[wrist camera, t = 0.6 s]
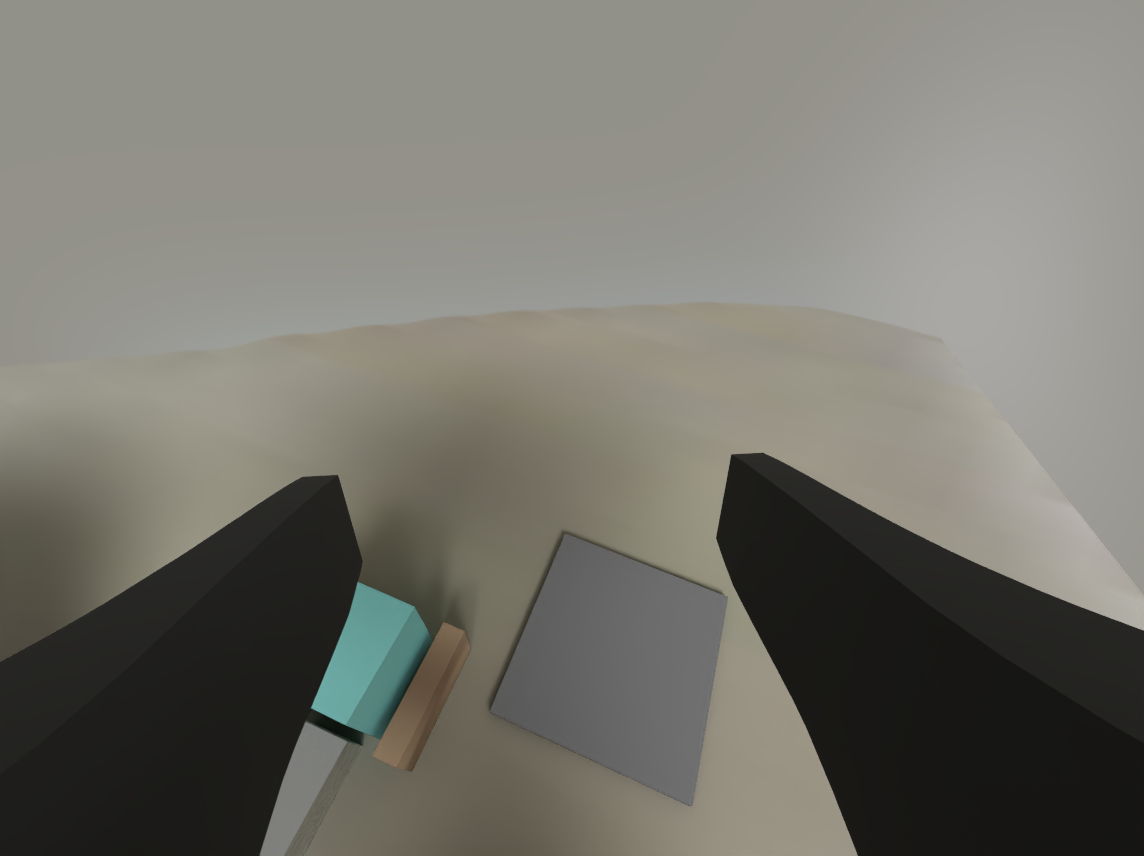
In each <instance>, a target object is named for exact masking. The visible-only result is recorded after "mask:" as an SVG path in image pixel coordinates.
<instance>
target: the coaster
mask: <svg viewBox="0 0 1144 856" xmlns="http://www.w3.org/2000/svg"><path fill="white" fill-rule="evenodd" d="M727 599H728V597H727V596H724V595H722V594H719V593H717V592H714V591H711V590H709V589H706V588H704V587H701V586H699V585H696V584H694V583H691V582H688V581H686V580H683V579H681V578H678V577H676V576H673V575H671V574H668V573H665V572H663V571H660V570H658V569H655V568H653V567H650V566H648V565H645V564H642V563H640V562H637V561H635V560H632V559H630V558H627V557H625V556H622V555H619V554H617V553H614V552H612V551H609V550H607V549H604V548H602V547H599V546H596V545H594V544H591V543H589V542H586V541H584V540H581V539H579V538H576V537H574V536H571V535H568V534H566V533H565V535H564V538H563V540H562V542H561V545H560V547H559V549H558V552H557V554H556V556H555V559H554V561H553V563H552V566H551V568H550V570H549V573H548V575H547V578H546V580H545V582H544V585H543V587H542V589H541V592H540V594H539V596H538V599H537V601H536V603H535V606H534V608H533V610H532V613H531V615H530V617H529V620H528V622H527V624H526V627H525V629H524V632H523V634H522V636H521V639H520V641H519V643H518V646H517V648H516V650H515V653H514V655H513V657H512V660H511V662H510V664H509V667H508V669H507V671H506V674H505V676H504V679H503V681H502V683H501V686H500V688H499V690H498V693H497V695H496V697H495V700H494V702H493V704H492V707H491V709H490V713H492V714H494V715H496V716H498V717H500V718H502V719H505V720H507V721H509V722H511V723H513V724H515V725H517V726H520V727H522V728H524V729H526V730H528V731H530V732H532V733H534V734H537V735H539V736H541V737H543V738H545V739H547V740H549V741H552V742H554V743H556V744H558V745H560V746H562V747H564V748H567V749H569V750H571V751H573V752H575V753H577V754H579V755H581V756H584V757H586V758H588V759H590V760H592V761H594V762H596V763H599V764H601V765H603V766H605V767H607V768H609V769H611V770H614V771H616V772H618V773H620V774H622V775H624V776H626V777H629V778H631V779H633V780H635V781H637V782H639V783H641V784H643V785H646V786H648V787H650V788H652V789H654V790H656V791H658V792H661V793H663V794H665V795H667V796H669V797H671V798H673V799H676V800H678V801H680V802H682V803H684V804H686V805H688V806H692V805H693V799H694V793H695V787H696V781H697V775H698V770H699V764H700V758H701V752H702V746H703V740H704V734H705V728H706V723H707V717H708V711H709V705H710V699H711V693H712V687H713V681H714V676H715V670H716V664H717V658H718V652H719V646H720V640H721V635H722V629H723V623H724V617H725V611H726V605H727Z"/></svg>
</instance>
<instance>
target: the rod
mask: <svg viewBox="0 0 1144 856" xmlns="http://www.w3.org/2000/svg"><path fill="white" fill-rule="evenodd" d="M361 747H362V746H361V745H359V744H357V743H355V742H353V741H351V740H349V739H347V738H344V737H342V736H340V735H338V734H336V733H334V732H332V731H330V730H328V729H326V728H323V727H321V726H319V725H317V724H315V723H313V722H310V721H307V720H306V722H305V724H304V727H303V729H302V731H301V734H300V736H299V739H298V741H297V744H296V746H295V749H294V751H293V754H292V757H291V760H290V762H289V765H288V768H287V770H286V773H285V776H284V779H283V781H282V785H281V788H280V791H279V794H278V797H277V801H276V804H275V807H274V810H273V814H272V817H271V820H270V823H269V827H268V830H267V833H266V836H265V840H264V843H263V846H262V849H261V853H260V856H304V854H305V852H306V850H307V848H308V846H309V845H310V843H311V841H312V839H313V837H314V835H315V833H316V831H317V830H318V828H319V826H320V824H321V822H322V820H323V818H324V817H325V815H326V813H327V811H328V809H329V807H330V805H331V803H332V802H333V800H334V798H335V796H336V794H337V792H338V790H339V789H340V787H341V785H342V783H343V781H344V779H345V777H346V775H347V774H348V772H349V770H350V768H351V766H352V764H353V762H354V761H355V759H356V757H357V755H358V753H359V751H360V749H361Z"/></svg>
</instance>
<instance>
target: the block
mask: <svg viewBox="0 0 1144 856" xmlns="http://www.w3.org/2000/svg"><path fill="white" fill-rule="evenodd" d="M433 641H434V640H433V638H432V637H431V635H430V633H429V631H428V630H427V628H426V626H425V624H424V623H423V621H422V619H421V617H420V615H419V614H418V612H417V610H416V608H415V607H414V606H412V605H409V604H407V603H405V602H403V601H400V600H398V599H396V598H393V597H391V596H389V595H387V594H384V593H382V592H380V591H378V590H375V589H373V588H371V587H369V586H366V585H364V584H362V583H359V582H358V583H357V587H356V591H355V595H354V598H353V602H352V606H351V609H350V613H349V616H348V618H347V621H346V624H345V626H344V629H343V631H342V634H341V636H340V639H339V641H338V644H337V646H336V649H335V651H334V654H333V656H332V659H331V661H330V663H329V666H328V668H327V671H326V673H325V676H324V678H323V680H322V683H321V685H320V688H319V690H318V693H317V695H316V697H315V700H314V702H313V705H312V707H311V708H312V709H314V710H316V711H318V712H320V713H322V714H324V715H326V716H328V717H330V718H332V719H334V720H336V721H338V722H340V723H342V724H344V725H346V726H348V727H351V728H354V729H356V730H359V731H361V732H364V733H366V734H369V735H371V736H374V737H376V738H379V739H381V738H382V736H383V734H384V733H385V731H386V729H387V727H388V725H389V723H390V721H391V720H392V718H393V716H394V714H395V712H396V710H397V708H398V706H399V705H400V703H401V701H402V699H403V697H404V695H405V693H406V691H407V690H408V688H409V686H410V684H411V682H412V680H413V678H414V677H415V675H416V673H417V671H418V669H419V667H420V665H421V663H422V662H423V660H424V658H425V656H426V654H427V652H428V650H429V648H430V647H431V645H432V643H433Z"/></svg>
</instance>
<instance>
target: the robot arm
mask: <svg viewBox="0 0 1144 856" xmlns="http://www.w3.org/2000/svg"><path fill="white" fill-rule="evenodd" d="M716 539H717V542H718V545H719V548H720V551H721V554H722V557H723V559H724V562H725V565H726V568H727V570H728V573H729V576H730V578H731V581H732V583H733V586H734V588H735V590H736V592H737V594H738V596H739V598H740V600H741V602H742V604H743V606H744V607H745V609H746V611H747V613H748V615H749V617H750V619H751V621H752V623H753V625H754V627H755V629H756V631H757V632H758V634H759V636H760V638H761V640H762V642H763V644H764V646H765V648H766V649H767V651H768V653H769V655H770V657H771V659H772V661H773V663H774V665H775V667H776V668H777V670H778V672H779V674H780V676H781V678H782V680H783V682H784V684H785V685H786V687H787V689H788V691H789V693H790V695H791V697H792V699H793V701H794V703H795V705H796V707H797V709H798V711H799V713H800V715H801V717H802V720H803V722H804V724H805V726H806V728H807V730H808V733H809V735H810V737H811V740H812V742H813V745H814V747H815V749H816V752H817V754H818V757H819V759H820V761H821V764H822V766H823V769H824V771H825V774H826V776H827V778H828V781H829V783H830V786H831V788H832V790H833V793H834V795H835V798H836V800H837V803H838V806H839V808H840V811H841V813H842V816H843V818H844V821H845V824H846V826H847V829H848V831H849V834H850V836H851V839H852V842H853V844H854V847H855V849H856V852H857V854H858V856H1144V631H1143V630H1140V629H1138V628H1135V627H1132V626H1130V625H1127V624H1124V623H1122V622H1119V621H1116V620H1113V619H1111V618H1108V617H1105V616H1103V615H1100V614H1097V613H1095V612H1092V611H1089V610H1087V609H1084V608H1081V607H1079V606H1076V605H1074V604H1071V603H1069V602H1066V601H1064V600H1061V599H1059V598H1056V597H1054V596H1051V595H1049V594H1046V593H1044V592H1041V591H1039V590H1037V589H1034V588H1032V587H1030V586H1027V585H1025V584H1023V583H1020V582H1018V581H1016V580H1013V579H1011V578H1009V577H1006V576H1004V575H1002V574H1000V573H997V572H995V571H993V570H990V569H988V568H986V567H983V566H981V565H979V564H977V563H974V562H972V561H970V560H968V559H966V558H964V557H961V556H959V555H957V554H955V553H953V552H951V551H949V550H947V549H945V548H943V547H941V546H939V545H937V544H934V543H932V542H930V541H928V540H926V539H924V538H922V537H920V536H918V535H916V534H914V533H912V532H910V531H908V530H906V529H904V528H902V527H900V526H899V525H897V524H895V523H893V522H891V521H889V520H887V519H885V518H883V517H881V516H880V515H878V514H876V513H874V512H872V511H870V510H868V509H867V508H865V507H863V506H861V505H859V504H857V503H856V502H854V501H852V500H850V499H848V498H847V497H845V496H843V495H841V494H839V493H838V492H836V491H834V490H832V489H830V488H829V487H827V486H825V485H823V484H821V483H820V482H818V481H816V480H814V479H812V478H811V477H809V476H807V475H805V474H803V473H802V472H800V471H798V470H796V469H794V468H792V467H791V466H789V465H787V464H785V463H783V462H781V461H779V460H777V459H775V458H773V457H771V456H769V455H766V454H764V453H751V454H732V455H731V460H730V465H729V471H728V476H727V482H726V487H725V493H724V498H723V504H722V509H721V515H720V520H719V525H718V531H717V536H716ZM362 562H363V561H362V558H361V554H360V551H359V547H358V544H357V540H356V537H355V533H354V529H353V526H352V522H351V519H350V515H349V512H348V508H347V505H346V501H345V498H344V494H343V491H342V487H341V484H340V480H339V477H338V475H330V476H311V477H302V478H300V479H298V480H296V481H294V482H292V483H291V484H289V485H287V486H286V487H284V488H283V489H281V490H279V491H278V492H276V493H275V494H273V495H272V496H270V497H269V498H267V499H266V500H264V501H263V502H261V503H260V504H258V505H256V506H255V507H253V508H252V509H251V510H249V511H248V512H246V513H245V514H243V515H242V516H240V517H239V518H237V519H236V520H234V521H233V522H231V523H230V524H228V525H227V526H225V527H224V528H222V529H221V530H219V531H218V532H216V533H215V534H213V535H212V536H210V537H209V538H207V539H206V540H204V541H203V542H201V543H200V544H198V545H197V546H195V547H194V548H192V549H191V550H189V551H188V552H186V553H185V554H183V555H181V556H180V557H178V558H177V559H175V560H173V561H172V562H170V563H169V564H167V565H165V566H164V567H162V568H161V569H159V570H157V571H156V572H154V573H153V574H151V575H149V576H148V577H146V578H145V579H143V580H141V581H140V582H138V583H137V584H135V585H133V586H132V587H130V588H129V589H127V590H125V591H124V592H122V593H121V594H119V595H117V596H116V597H114V598H113V599H111V600H109V601H108V602H106V603H105V604H103V605H101V606H100V607H98V608H96V609H94V610H93V611H91V612H89V613H88V614H86V615H84V616H83V617H81V618H79V619H77V620H76V621H74V622H72V623H70V624H69V625H67V626H65V627H63V628H62V629H60V630H58V631H56V632H55V633H53V634H51V635H49V636H47V637H46V638H44V639H42V640H40V641H38V642H36V643H35V644H33V645H31V646H29V647H27V648H26V649H24V650H22V651H20V652H18V653H16V654H15V655H13V656H11V657H9V658H7V659H5V660H4V661H2V662H0V856H260V853H261V849H262V846H263V843H264V840H265V836H266V833H267V830H268V827H269V823H270V820H271V817H272V814H273V810H274V807H275V804H276V801H277V797H278V794H279V791H280V788H281V785H282V781H283V779H284V776H285V773H286V770H287V768H288V765H289V762H290V760H291V757H292V754H293V751H294V749H295V746H296V744H297V741H298V739H299V736H300V734H301V731H302V729H303V727H304V724H305V722H306V719H307V717H308V714H309V712H310V710H311V707H312V705H313V702H314V700H315V697H316V695H317V693H318V690H319V688H320V685H321V683H322V680H323V678H324V676H325V673H326V671H327V668H328V666H329V663H330V661H331V659H332V656H333V654H334V651H335V649H336V646H337V644H338V641H339V639H340V636H341V634H342V631H343V629H344V626H345V624H346V621H347V618H348V616H349V613H350V609H351V606H352V602H353V598H354V595H355V591H356V587H357V583H358V579H359V575H360V571H361V567H362Z"/></svg>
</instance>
